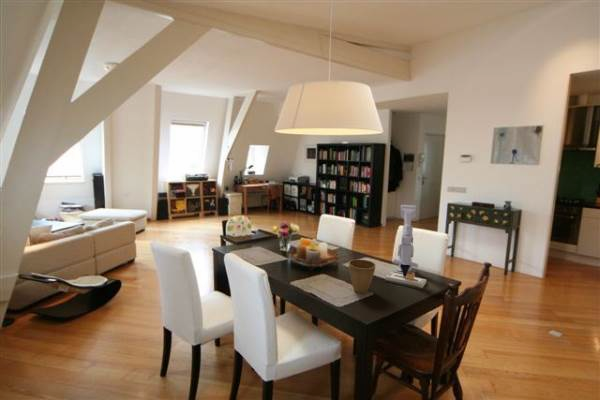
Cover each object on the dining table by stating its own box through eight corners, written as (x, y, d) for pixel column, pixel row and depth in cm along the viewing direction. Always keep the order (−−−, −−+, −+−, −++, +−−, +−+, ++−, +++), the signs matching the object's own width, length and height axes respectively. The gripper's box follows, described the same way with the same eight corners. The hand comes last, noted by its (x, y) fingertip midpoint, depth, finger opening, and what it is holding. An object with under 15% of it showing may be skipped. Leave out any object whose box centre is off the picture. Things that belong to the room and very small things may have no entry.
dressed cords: (392, 273, 214) (392, 271, 214) (427, 280, 203) (427, 278, 203) (384, 281, 201) (384, 279, 201) (420, 289, 189) (420, 287, 189)
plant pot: (350, 296, 180) (351, 268, 177) (345, 285, 194) (346, 259, 192) (377, 296, 180) (378, 268, 178) (370, 285, 195) (372, 259, 192)
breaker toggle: (407, 276, 202) (408, 270, 202) (414, 278, 200) (414, 271, 199) (406, 278, 200) (406, 271, 199) (413, 279, 198) (413, 273, 197)
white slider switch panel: (390, 274, 212) (390, 271, 211) (426, 282, 200) (426, 279, 199) (385, 279, 204) (385, 276, 204) (422, 287, 192) (422, 284, 192)
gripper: (392, 254, 200) (391, 275, 202) (416, 259, 192) (415, 281, 194) (396, 251, 206) (394, 272, 208) (419, 255, 198) (418, 277, 200)
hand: (404, 276), depth 202 cm, fingers closed
